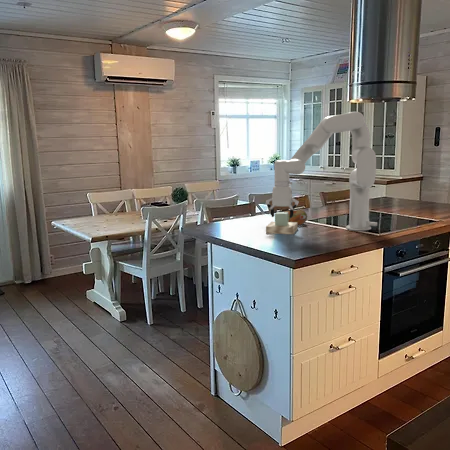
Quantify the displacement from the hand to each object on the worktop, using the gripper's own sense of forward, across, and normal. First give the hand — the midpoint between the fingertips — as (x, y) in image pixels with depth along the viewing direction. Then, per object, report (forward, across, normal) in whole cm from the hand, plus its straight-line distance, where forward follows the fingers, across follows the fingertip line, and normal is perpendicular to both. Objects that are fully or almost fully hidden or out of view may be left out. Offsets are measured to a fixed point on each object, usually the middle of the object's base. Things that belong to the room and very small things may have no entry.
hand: (282, 216), depth 243 cm
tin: (+8, -3, -18) cm, 20 cm away
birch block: (+8, 0, 0) cm, 8 cm away
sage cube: (+4, 0, 0) cm, 4 cm away
